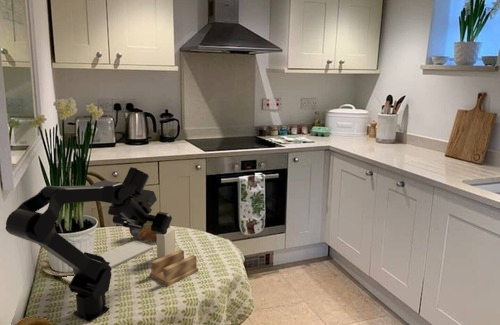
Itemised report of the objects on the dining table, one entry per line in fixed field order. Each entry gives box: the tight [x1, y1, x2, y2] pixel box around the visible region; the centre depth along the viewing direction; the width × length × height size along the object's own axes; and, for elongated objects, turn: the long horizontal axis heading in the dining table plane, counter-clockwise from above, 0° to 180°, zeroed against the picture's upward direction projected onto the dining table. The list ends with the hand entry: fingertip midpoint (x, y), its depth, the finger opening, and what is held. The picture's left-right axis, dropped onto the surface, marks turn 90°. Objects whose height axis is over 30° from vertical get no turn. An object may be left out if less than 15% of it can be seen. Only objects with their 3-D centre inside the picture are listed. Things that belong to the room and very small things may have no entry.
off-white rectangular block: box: [156, 227, 176, 260], centre depth 135 cm, size 6×3×10 cm, turn 157°
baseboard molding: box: [61, 236, 154, 285], centre depth 134 cm, size 31×3×12 cm
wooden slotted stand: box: [149, 248, 199, 287], centre depth 126 cm, size 12×9×5 cm
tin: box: [129, 222, 171, 241], centre depth 151 cm, size 15×3×8 cm, turn 88°
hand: (154, 230), depth 128 cm, fingers open, 9 cm apart
